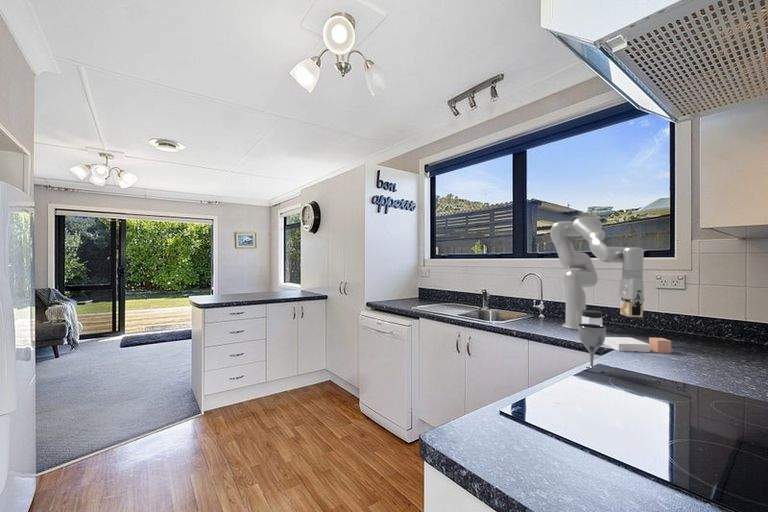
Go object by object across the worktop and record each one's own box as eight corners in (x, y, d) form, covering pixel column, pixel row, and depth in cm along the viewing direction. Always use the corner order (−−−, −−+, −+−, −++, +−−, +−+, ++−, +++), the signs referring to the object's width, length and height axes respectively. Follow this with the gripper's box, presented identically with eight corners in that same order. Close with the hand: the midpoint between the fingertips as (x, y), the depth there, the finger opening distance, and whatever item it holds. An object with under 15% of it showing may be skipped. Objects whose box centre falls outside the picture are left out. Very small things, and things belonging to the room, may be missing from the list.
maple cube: (620, 314, 154) (620, 301, 154) (633, 314, 153) (634, 301, 153) (628, 316, 148) (628, 303, 148) (642, 317, 147) (643, 303, 147)
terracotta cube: (649, 349, 138) (649, 337, 138) (662, 349, 138) (662, 337, 138) (657, 352, 133) (657, 340, 133) (671, 353, 133) (671, 340, 133)
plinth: (602, 343, 147) (602, 336, 147) (631, 344, 146) (631, 337, 146) (618, 351, 135) (618, 343, 135) (650, 352, 134) (650, 344, 134)
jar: (599, 338, 156) (599, 313, 156) (579, 335, 162) (579, 311, 162) (604, 335, 162) (604, 311, 162) (585, 333, 168) (585, 309, 168)
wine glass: (580, 372, 110) (581, 327, 110) (576, 365, 117) (576, 322, 117) (608, 375, 107) (609, 329, 107) (602, 367, 114) (602, 324, 114)
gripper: (612, 273, 159) (611, 310, 159) (636, 275, 142) (634, 317, 142) (629, 273, 158) (627, 310, 159) (654, 276, 141) (653, 318, 141)
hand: (631, 313), depth 150 cm, fingers closed on maple cube, 6 cm apart
